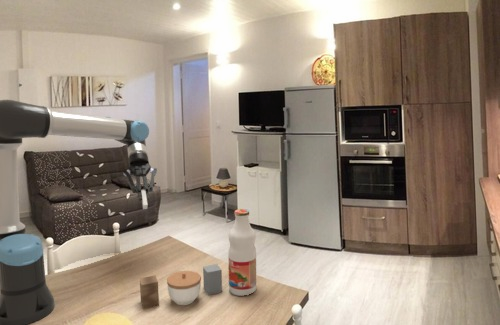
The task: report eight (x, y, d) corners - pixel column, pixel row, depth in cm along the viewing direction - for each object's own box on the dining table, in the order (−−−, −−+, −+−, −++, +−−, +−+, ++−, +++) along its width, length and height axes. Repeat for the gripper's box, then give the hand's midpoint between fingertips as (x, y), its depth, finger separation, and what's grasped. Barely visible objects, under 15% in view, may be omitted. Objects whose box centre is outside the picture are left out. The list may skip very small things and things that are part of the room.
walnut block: (142, 309, 110) (141, 285, 109) (140, 301, 114) (139, 278, 113) (159, 305, 112) (157, 281, 111) (156, 298, 116) (155, 275, 115)
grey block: (207, 295, 118) (207, 272, 117) (203, 288, 123) (203, 266, 122) (222, 292, 120) (221, 269, 119) (217, 285, 125) (216, 264, 123)
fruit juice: (261, 292, 120) (261, 212, 116) (237, 299, 115) (235, 216, 111) (247, 280, 128) (247, 205, 124) (224, 287, 123) (222, 209, 119)
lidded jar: (207, 301, 114) (207, 273, 113) (178, 313, 107) (177, 284, 106) (190, 288, 122) (189, 263, 121) (161, 299, 115) (160, 272, 114)
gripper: (153, 161, 149) (162, 210, 136) (121, 163, 144) (126, 214, 131) (155, 150, 143) (164, 199, 130) (121, 152, 138) (126, 203, 125)
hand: (145, 206), depth 131 cm, fingers closed
